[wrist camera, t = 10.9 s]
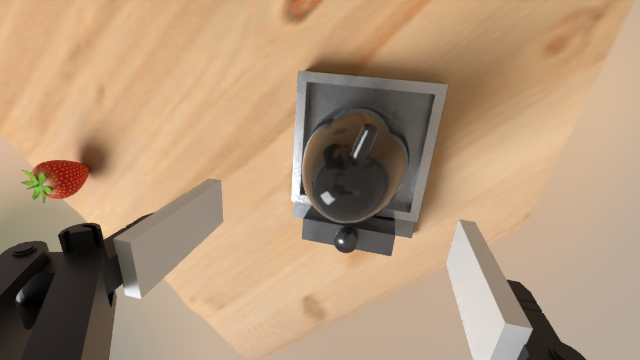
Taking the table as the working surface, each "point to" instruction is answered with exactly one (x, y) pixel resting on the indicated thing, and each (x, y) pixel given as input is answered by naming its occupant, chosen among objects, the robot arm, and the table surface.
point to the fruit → (57, 178)
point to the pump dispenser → (355, 163)
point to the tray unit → (421, 132)
